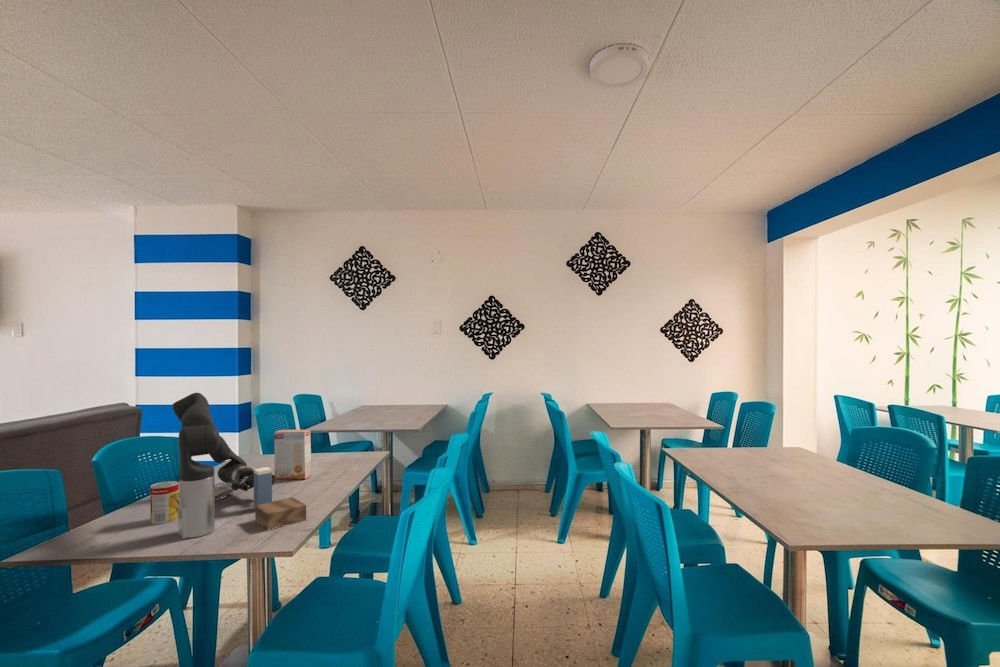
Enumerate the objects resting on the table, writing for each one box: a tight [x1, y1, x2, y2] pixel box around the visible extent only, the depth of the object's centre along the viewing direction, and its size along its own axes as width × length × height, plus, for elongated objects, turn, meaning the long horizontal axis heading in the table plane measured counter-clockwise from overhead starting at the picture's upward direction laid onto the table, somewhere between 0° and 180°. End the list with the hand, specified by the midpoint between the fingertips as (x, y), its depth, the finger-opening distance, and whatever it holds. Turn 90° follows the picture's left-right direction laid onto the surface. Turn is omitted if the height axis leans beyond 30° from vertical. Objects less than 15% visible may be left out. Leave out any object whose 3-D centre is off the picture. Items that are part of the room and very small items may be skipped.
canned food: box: [149, 480, 180, 525], centre depth 162 cm, size 8×8×12 cm
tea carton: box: [253, 466, 273, 509], centre depth 171 cm, size 5×5×14 cm
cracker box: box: [273, 429, 312, 480], centre depth 210 cm, size 14×6×21 cm, turn 84°
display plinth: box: [254, 497, 307, 530], centre depth 159 cm, size 12×12×5 cm
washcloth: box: [179, 488, 234, 503], centre depth 182 cm, size 12×18×3 cm, turn 172°
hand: (259, 485), depth 174 cm, fingers open, 8 cm apart
